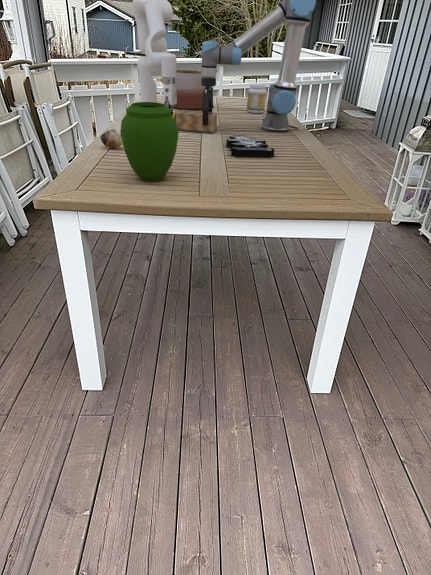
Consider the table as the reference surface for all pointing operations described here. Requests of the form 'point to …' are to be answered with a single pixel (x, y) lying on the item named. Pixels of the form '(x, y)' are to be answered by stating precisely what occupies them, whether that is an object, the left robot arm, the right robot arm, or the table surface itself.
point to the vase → (149, 139)
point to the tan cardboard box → (196, 121)
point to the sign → (248, 147)
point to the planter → (189, 90)
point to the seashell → (111, 139)
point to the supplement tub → (256, 98)
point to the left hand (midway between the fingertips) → (169, 119)
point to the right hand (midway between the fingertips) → (207, 123)
